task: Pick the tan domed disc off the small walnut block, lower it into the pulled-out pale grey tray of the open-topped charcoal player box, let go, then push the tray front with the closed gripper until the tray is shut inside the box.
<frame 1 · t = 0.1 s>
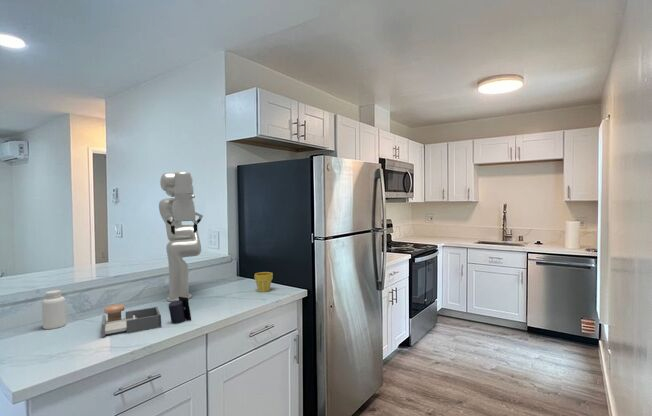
hand: (184, 233, 170), 37 cm above the worktop, tool pointing down, fingers open, 9 cm apart
speaker: (179, 322, 153), on the worktop
tray: (120, 322, 145), point 3 cm above the worktop, slide at 7.0 cm
brown wooden cube: (114, 322, 155), on the worktop
housing: (142, 325, 149), on the worktop
tan domed disc: (114, 310, 155), point 5 cm above the worktop, touching brown wooden cube
plant pot: (264, 290, 204), on the worktop
pill bottle: (54, 326, 151), on the worktop
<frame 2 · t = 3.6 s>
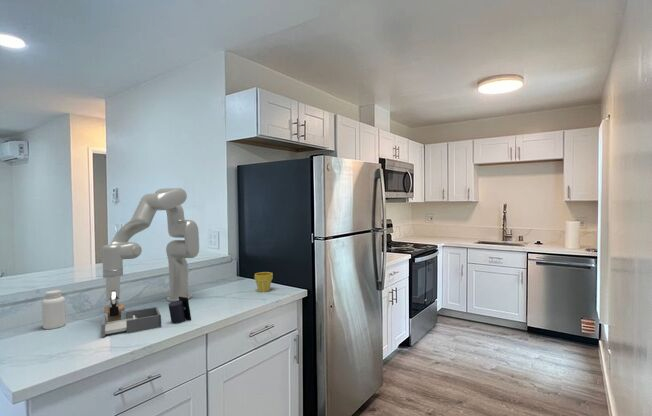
hand: (114, 313, 154), 4 cm above the worktop, tool pointing down, fingers closed on tan domed disc, 7 cm apart
tan domed disc: (114, 310, 154), point 5 cm above the worktop, touching gripper, brown wooden cube
everything else where it was.
when the fingers open (3 cm above the worktop, at t = 8.8 s): tan domed disc drops 2 cm, resting on tray.
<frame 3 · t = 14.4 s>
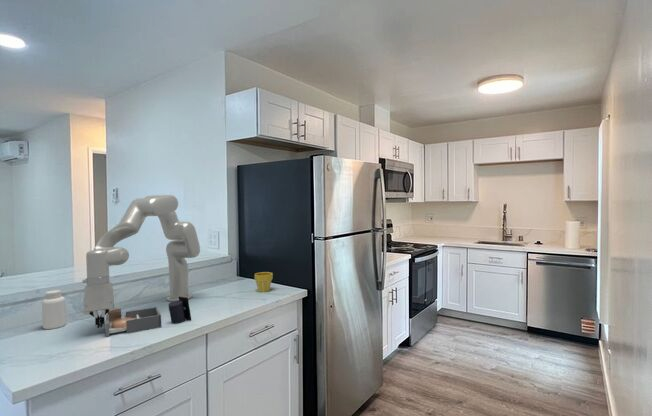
hand: (100, 326, 142), 2 cm above the worktop, tool pointing down, fingers closed
tray: (124, 322, 146), point 3 cm above the worktop, slide at 5.7 cm, touching tan domed disc, gripper
tan domed disc: (122, 325, 146), point 1 cm above the worktop, touching tray
everything else where it was.
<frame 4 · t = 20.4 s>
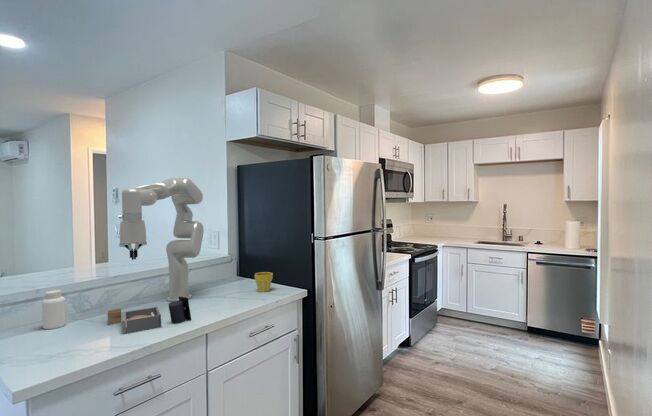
hand: (133, 259, 156), 27 cm above the worktop, tool pointing down, fingers closed
tray: (139, 319, 149), point 3 cm above the worktop, slide at 0.0 cm, touching tan domed disc
tan domed disc: (138, 322, 149), point 1 cm above the worktop, touching tray
everything else where it was.
at the end: tray slide at 0.0 cm; tan domed disc inside the target area on the housing (1.7 cm from its centre), point 1.5 cm above the housing's base; tan domed disc tilted 0° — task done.
